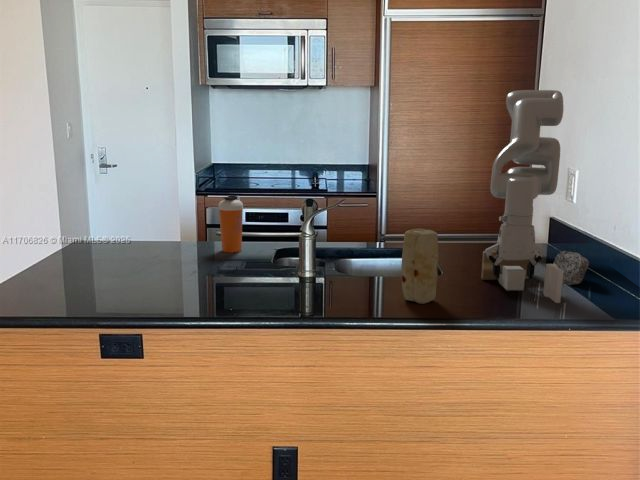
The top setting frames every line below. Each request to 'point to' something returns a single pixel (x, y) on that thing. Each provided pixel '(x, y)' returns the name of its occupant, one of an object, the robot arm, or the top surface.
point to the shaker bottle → (231, 223)
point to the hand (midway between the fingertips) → (512, 277)
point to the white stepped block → (512, 278)
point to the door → (488, 266)
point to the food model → (419, 265)
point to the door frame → (553, 282)
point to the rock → (571, 266)
